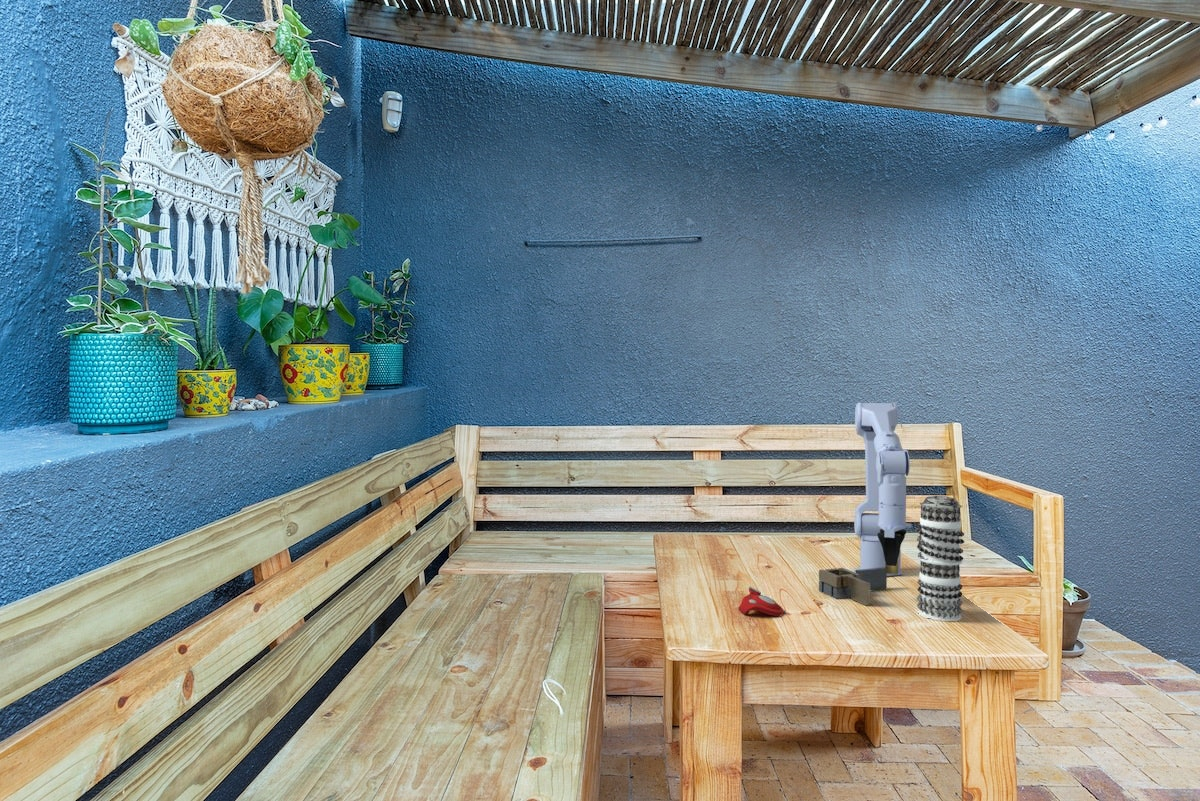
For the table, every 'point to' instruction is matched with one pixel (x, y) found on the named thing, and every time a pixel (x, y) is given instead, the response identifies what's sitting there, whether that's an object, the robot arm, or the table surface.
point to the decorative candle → (940, 559)
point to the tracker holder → (759, 603)
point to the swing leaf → (847, 583)
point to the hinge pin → (892, 567)
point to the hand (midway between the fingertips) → (891, 563)
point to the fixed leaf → (871, 576)
